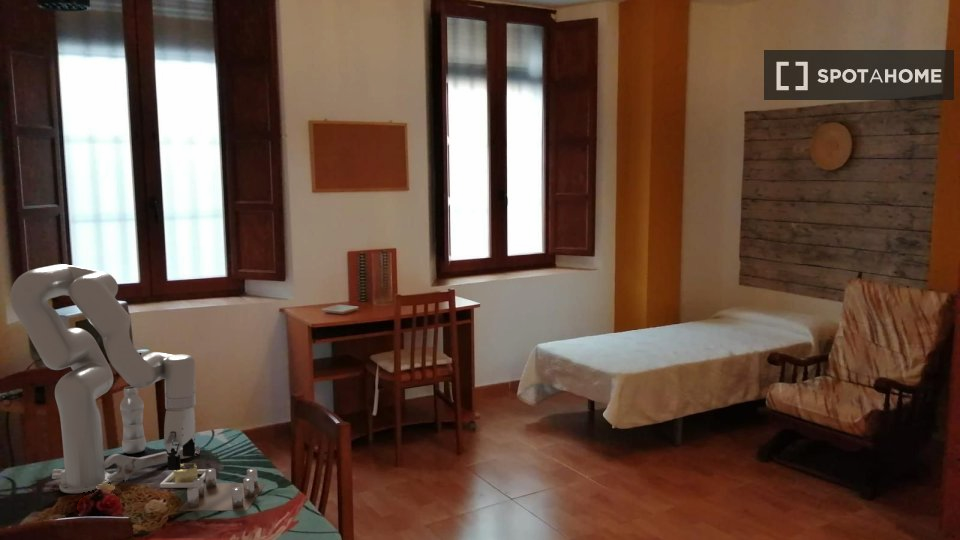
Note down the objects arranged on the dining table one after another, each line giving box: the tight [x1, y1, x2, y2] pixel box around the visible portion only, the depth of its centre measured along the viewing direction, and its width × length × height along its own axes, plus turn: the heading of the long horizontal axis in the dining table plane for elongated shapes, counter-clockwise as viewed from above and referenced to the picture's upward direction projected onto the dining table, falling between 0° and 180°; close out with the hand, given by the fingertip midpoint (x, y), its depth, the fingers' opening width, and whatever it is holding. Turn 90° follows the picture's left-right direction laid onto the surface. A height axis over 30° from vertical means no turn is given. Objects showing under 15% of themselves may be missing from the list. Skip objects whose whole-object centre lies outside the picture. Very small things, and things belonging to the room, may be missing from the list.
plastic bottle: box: [119, 385, 147, 455], centre depth 227 cm, size 6×7×20 cm
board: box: [177, 482, 267, 512], centre depth 194 cm, size 17×17×1 cm
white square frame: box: [159, 468, 208, 489], centre depth 204 cm, size 10×10×2 cm
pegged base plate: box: [186, 467, 259, 509], centre depth 194 cm, size 16×15×4 cm
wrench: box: [103, 445, 201, 482], centre depth 214 cm, size 8×2×30 cm
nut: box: [172, 462, 199, 483], centre depth 204 cm, size 6×6×4 cm
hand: (181, 462), depth 204 cm, fingers open, 9 cm apart
